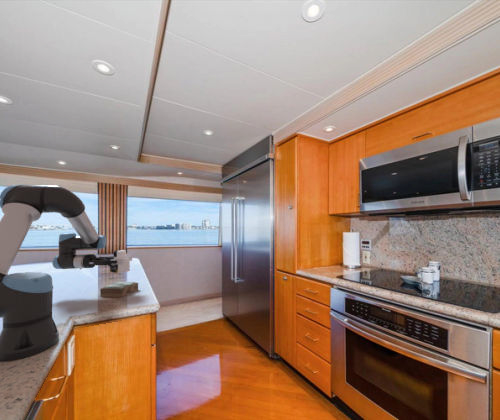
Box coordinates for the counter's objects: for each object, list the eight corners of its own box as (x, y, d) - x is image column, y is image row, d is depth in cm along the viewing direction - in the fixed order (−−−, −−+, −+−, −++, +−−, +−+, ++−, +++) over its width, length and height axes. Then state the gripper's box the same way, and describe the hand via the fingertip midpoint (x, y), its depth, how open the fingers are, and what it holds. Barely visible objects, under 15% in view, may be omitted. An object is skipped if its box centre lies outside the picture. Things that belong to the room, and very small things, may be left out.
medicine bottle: (109, 272, 129) (109, 250, 130) (121, 269, 136) (121, 249, 136) (117, 273, 126) (117, 251, 127) (129, 271, 132) (129, 249, 133)
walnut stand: (121, 297, 123) (121, 288, 123) (100, 296, 125) (100, 287, 125) (138, 289, 136) (138, 281, 136) (118, 288, 138) (118, 281, 138)
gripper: (97, 264, 141) (136, 262, 142) (72, 272, 119) (118, 271, 120) (97, 251, 141) (136, 250, 143) (72, 257, 119) (118, 256, 121)
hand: (128, 259), depth 132 cm, fingers closed on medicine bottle, 10 cm apart
